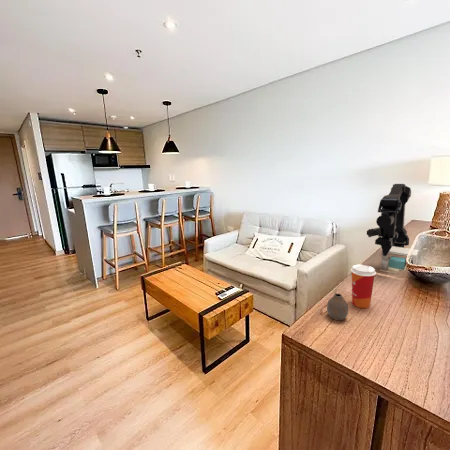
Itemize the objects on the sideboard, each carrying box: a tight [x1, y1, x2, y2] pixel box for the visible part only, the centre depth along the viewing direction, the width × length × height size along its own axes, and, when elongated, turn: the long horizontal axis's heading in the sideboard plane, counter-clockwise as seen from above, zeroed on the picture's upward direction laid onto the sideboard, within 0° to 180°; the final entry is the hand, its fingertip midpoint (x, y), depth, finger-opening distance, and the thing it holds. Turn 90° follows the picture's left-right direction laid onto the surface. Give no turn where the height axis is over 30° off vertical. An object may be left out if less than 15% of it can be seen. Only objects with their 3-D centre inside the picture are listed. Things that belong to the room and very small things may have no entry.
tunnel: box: [389, 246, 420, 265], centre depth 127 cm, size 10×14×8 cm
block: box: [389, 255, 407, 271], centre depth 122 cm, size 6×6×4 cm
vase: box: [326, 292, 349, 321], centre depth 86 cm, size 7×7×9 cm
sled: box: [379, 250, 408, 275], centre depth 120 cm, size 14×10×12 cm
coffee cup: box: [350, 263, 377, 309], centre depth 92 cm, size 8×8×15 cm
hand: (385, 254), depth 118 cm, fingers closed on sled, 3 cm apart
